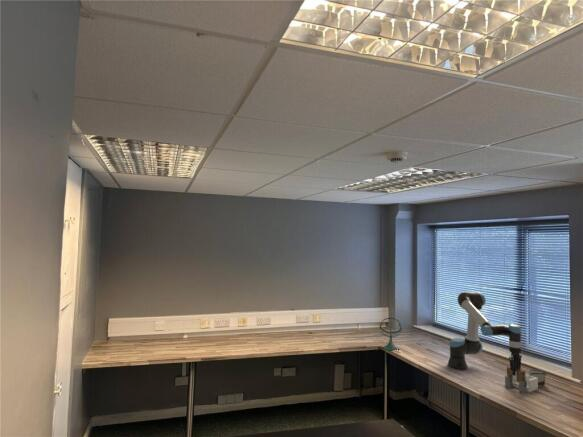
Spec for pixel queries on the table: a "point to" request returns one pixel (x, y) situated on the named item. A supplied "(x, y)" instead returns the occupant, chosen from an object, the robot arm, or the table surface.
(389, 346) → the armillary sphere
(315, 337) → the table surface
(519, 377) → the door
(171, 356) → the table surface
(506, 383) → the carcass
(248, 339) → the table surface
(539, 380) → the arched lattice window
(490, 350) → the table surface
